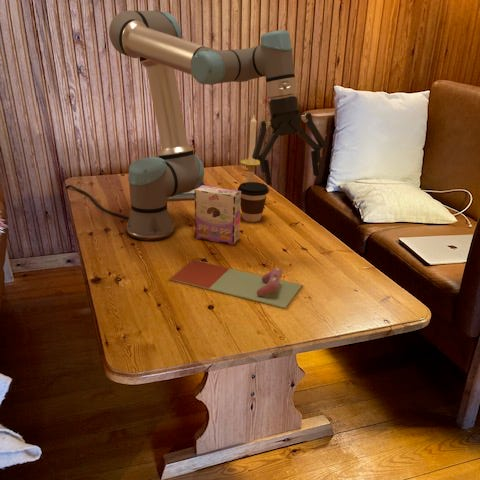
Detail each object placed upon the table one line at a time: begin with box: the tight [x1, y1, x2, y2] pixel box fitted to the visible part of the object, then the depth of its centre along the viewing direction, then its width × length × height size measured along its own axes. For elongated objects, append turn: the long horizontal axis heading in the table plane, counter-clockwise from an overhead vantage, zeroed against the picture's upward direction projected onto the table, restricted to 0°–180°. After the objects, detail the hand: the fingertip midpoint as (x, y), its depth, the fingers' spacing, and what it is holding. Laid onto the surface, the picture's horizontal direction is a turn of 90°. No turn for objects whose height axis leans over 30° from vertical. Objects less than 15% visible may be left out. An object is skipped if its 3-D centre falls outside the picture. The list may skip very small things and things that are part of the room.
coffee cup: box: [237, 181, 270, 223], centre depth 188 cm, size 11×11×12 cm
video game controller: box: [257, 267, 284, 296], centre depth 143 cm, size 10×5×7 cm, turn 168°
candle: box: [239, 114, 260, 182], centre depth 198 cm, size 10×10×32 cm
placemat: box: [169, 259, 303, 310], centre depth 148 cm, size 34×14×1 cm, turn 67°
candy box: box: [194, 185, 241, 246], centre depth 170 cm, size 14×6×16 cm, turn 69°
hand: (292, 180), depth 146 cm, fingers open, 13 cm apart
